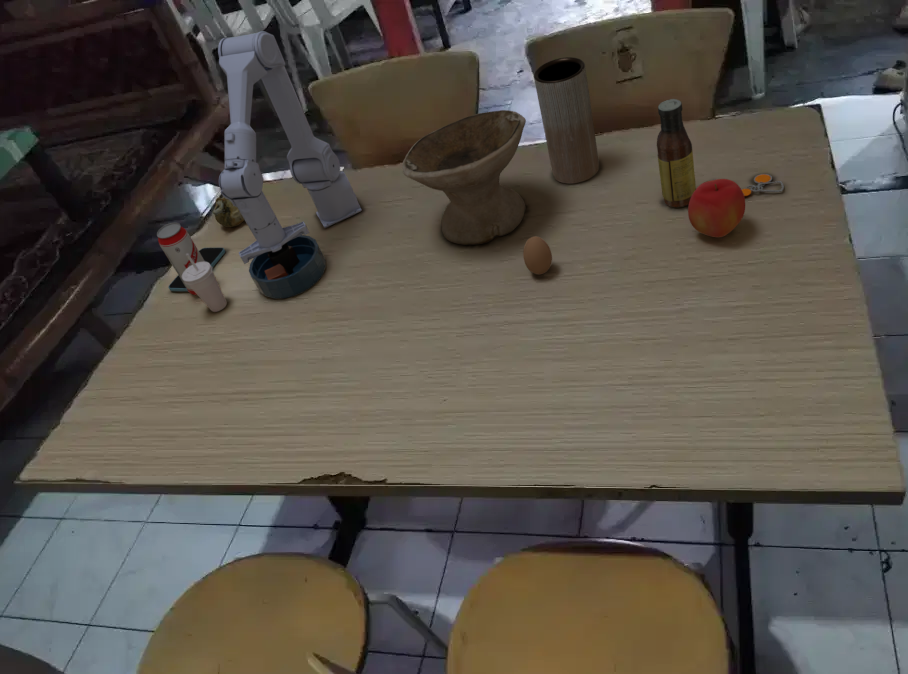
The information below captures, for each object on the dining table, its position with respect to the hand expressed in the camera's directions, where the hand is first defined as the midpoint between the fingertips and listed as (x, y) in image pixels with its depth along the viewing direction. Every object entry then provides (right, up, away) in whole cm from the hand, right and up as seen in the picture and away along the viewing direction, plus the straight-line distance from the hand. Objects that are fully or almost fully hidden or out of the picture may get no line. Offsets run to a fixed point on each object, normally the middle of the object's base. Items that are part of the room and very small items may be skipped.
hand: (291, 273), depth 155 cm
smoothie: (-16, -7, +3) cm, 18 cm away
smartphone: (-25, +2, +14) cm, 29 cm away
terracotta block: (-2, -3, 0) cm, 3 cm away
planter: (+61, +22, +3) cm, 65 cm away
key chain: (+90, +14, -16) cm, 93 cm away
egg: (+51, -2, -17) cm, 54 cm away
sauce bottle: (+78, +12, -13) cm, 80 cm away
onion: (-20, +16, +26) cm, 36 cm away
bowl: (+41, +11, 0) cm, 42 cm away
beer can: (-22, -2, +9) cm, 23 cm away
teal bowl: (0, 0, +3) cm, 3 cm away
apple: (+82, +4, -22) cm, 85 cm away
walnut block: (-2, +3, +5) cm, 6 cm away
